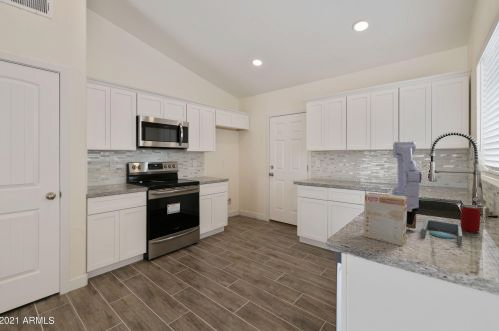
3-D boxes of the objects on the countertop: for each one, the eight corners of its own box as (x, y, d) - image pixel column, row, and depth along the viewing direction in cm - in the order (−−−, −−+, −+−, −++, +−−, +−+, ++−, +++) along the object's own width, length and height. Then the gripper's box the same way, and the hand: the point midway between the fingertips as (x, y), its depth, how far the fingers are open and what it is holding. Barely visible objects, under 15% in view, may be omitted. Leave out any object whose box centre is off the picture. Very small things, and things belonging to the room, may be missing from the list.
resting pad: (430, 230, 112) (430, 230, 112) (454, 235, 107) (454, 234, 107) (428, 235, 106) (428, 234, 106) (455, 240, 100) (455, 239, 100)
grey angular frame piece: (425, 227, 118) (426, 219, 118) (460, 232, 109) (460, 224, 109) (422, 237, 103) (422, 229, 103) (461, 245, 94) (462, 236, 94)
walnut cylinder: (405, 225, 116) (405, 211, 116) (416, 226, 114) (416, 212, 113) (403, 227, 113) (404, 213, 113) (415, 229, 110) (415, 214, 110)
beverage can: (479, 230, 113) (480, 206, 112) (479, 234, 108) (481, 208, 107) (460, 227, 117) (461, 204, 116) (460, 230, 112) (461, 206, 112)
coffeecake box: (406, 241, 99) (407, 196, 98) (402, 246, 94) (404, 198, 92) (368, 232, 109) (369, 192, 108) (363, 236, 104) (364, 194, 103)
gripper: (404, 192, 120) (402, 218, 121) (399, 196, 109) (398, 224, 110) (420, 194, 116) (419, 221, 117) (417, 198, 105) (416, 228, 106)
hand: (410, 223), depth 113 cm, fingers closed on walnut cylinder, 4 cm apart
